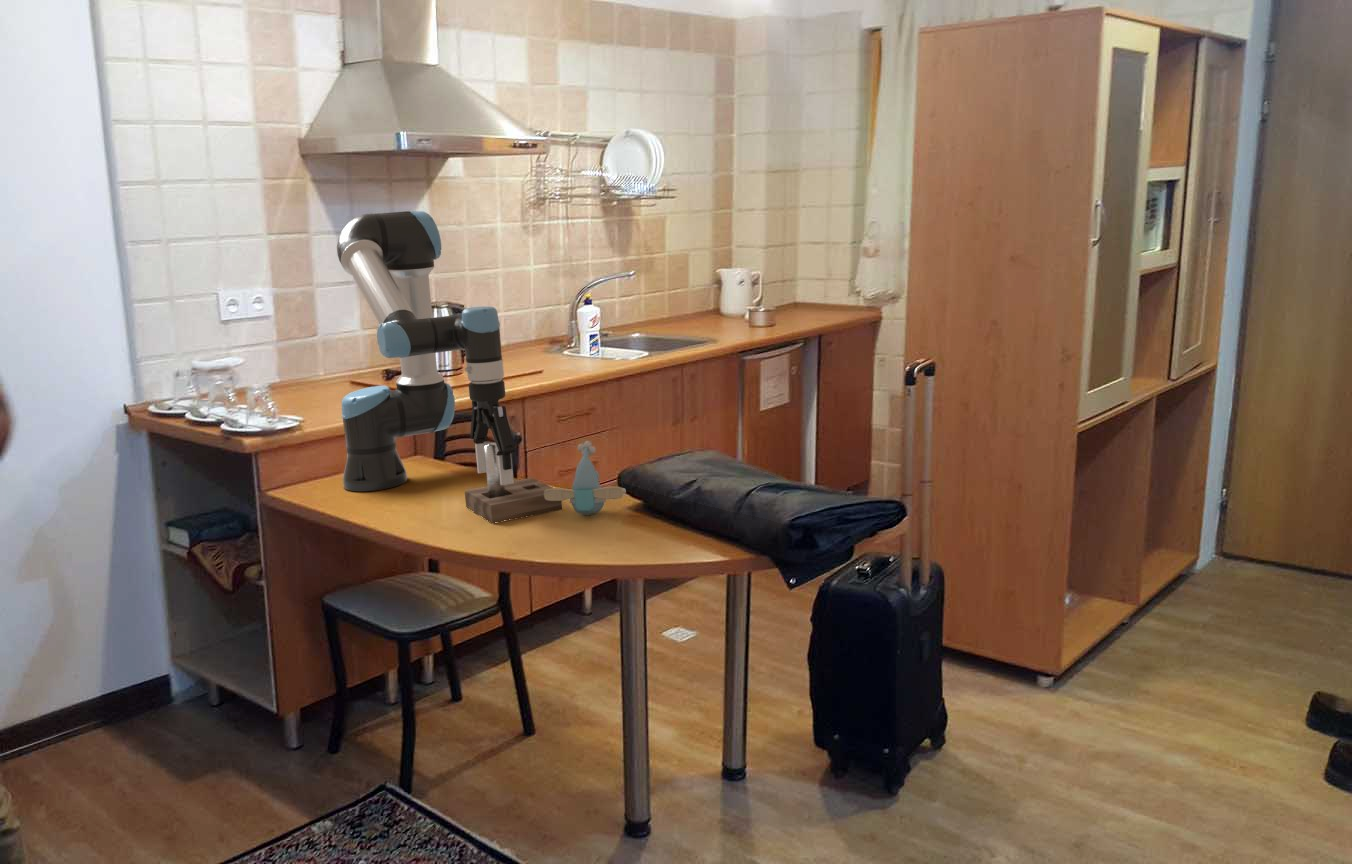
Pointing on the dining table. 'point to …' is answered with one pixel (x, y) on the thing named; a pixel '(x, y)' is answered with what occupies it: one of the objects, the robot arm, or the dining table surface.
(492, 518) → the block
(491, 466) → the pin
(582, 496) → the toy figure
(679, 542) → the dining table surface
